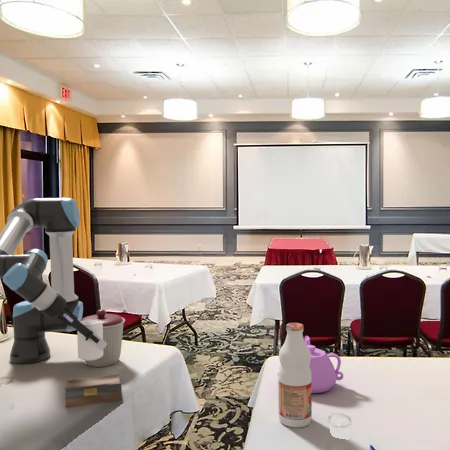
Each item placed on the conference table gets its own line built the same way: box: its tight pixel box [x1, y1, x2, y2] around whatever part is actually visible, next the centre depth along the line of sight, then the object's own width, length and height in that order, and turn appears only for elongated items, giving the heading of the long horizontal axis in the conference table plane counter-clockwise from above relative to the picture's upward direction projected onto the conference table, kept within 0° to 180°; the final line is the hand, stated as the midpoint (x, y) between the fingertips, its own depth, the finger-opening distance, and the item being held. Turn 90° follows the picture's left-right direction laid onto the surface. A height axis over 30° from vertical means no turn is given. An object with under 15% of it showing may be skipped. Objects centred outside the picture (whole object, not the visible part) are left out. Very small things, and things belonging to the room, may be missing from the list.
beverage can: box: [76, 319, 103, 362], centre depth 155 cm, size 8×8×12 cm
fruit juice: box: [277, 322, 313, 429], centre depth 134 cm, size 9×9×28 cm
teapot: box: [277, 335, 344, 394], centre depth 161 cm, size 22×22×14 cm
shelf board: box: [64, 373, 123, 408], centre depth 155 cm, size 16×17×6 cm
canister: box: [80, 309, 126, 368], centre depth 183 cm, size 18×18×21 cm
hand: (101, 344), depth 157 cm, fingers closed on beverage can, 6 cm apart
